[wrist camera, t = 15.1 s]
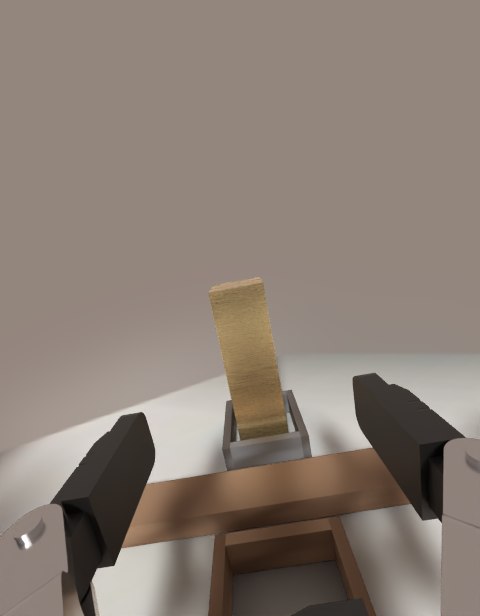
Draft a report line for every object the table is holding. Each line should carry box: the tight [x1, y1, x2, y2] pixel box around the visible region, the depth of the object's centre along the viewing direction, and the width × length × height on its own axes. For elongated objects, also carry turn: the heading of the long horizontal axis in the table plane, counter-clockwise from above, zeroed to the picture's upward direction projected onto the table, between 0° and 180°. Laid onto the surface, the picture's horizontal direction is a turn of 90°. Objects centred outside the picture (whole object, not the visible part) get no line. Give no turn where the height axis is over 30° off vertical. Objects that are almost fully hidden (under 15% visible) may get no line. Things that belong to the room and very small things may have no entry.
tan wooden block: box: [209, 277, 289, 441], centre depth 23 cm, size 4×4×14 cm
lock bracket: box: [121, 390, 411, 616], centre depth 17 cm, size 20×20×2 cm
